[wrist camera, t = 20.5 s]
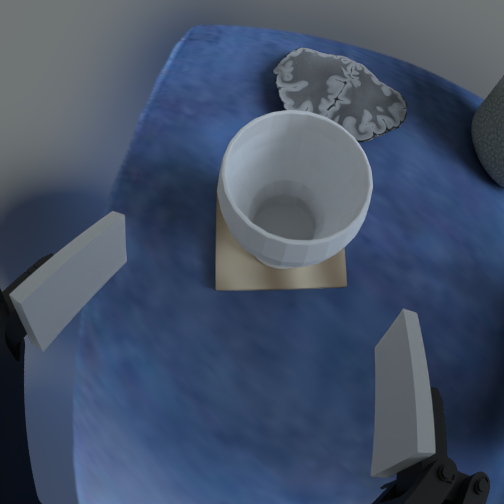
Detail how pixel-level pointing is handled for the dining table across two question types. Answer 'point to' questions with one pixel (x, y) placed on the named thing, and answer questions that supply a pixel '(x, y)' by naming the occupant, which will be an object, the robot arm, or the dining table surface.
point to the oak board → (269, 268)
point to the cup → (294, 188)
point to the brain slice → (339, 93)
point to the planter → (490, 133)
